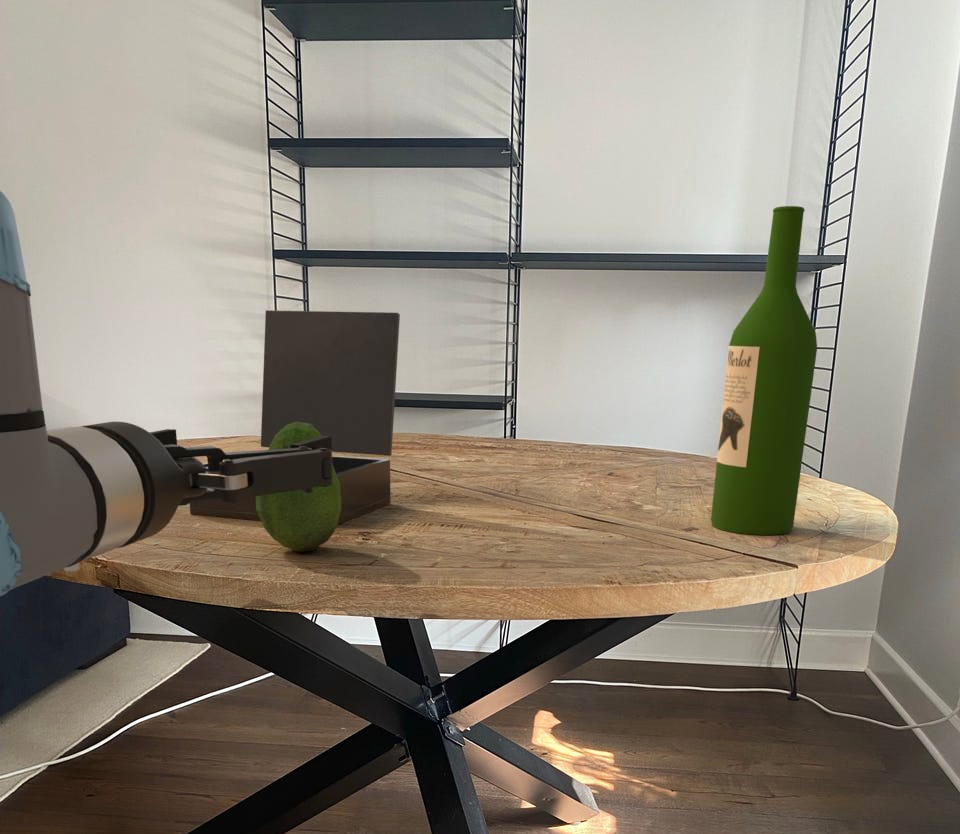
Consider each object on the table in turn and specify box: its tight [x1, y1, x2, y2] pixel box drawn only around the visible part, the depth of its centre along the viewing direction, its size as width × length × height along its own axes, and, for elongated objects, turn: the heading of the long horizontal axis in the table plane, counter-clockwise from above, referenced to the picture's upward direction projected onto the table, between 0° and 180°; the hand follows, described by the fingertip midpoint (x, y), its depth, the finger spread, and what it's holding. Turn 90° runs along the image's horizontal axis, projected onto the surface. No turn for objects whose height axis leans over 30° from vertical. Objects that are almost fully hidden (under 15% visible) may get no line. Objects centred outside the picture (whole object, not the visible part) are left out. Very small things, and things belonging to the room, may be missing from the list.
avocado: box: [256, 422, 341, 553], centre depth 85 cm, size 8×8×12 cm
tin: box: [189, 455, 392, 526], centre depth 106 cm, size 16×18×5 cm
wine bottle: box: [710, 205, 818, 536], centre depth 97 cm, size 9×9×32 cm
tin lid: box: [260, 310, 401, 457], centre depth 110 cm, size 16×18×1 cm
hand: (249, 449), depth 74 cm, fingers open, 13 cm apart
